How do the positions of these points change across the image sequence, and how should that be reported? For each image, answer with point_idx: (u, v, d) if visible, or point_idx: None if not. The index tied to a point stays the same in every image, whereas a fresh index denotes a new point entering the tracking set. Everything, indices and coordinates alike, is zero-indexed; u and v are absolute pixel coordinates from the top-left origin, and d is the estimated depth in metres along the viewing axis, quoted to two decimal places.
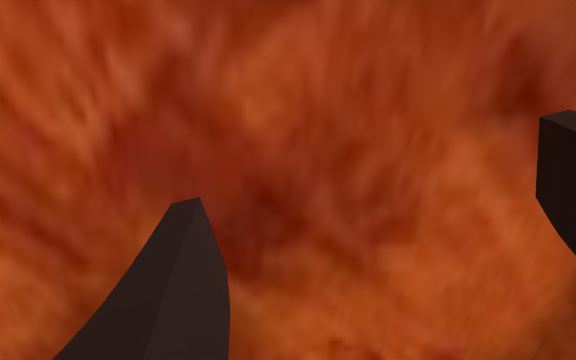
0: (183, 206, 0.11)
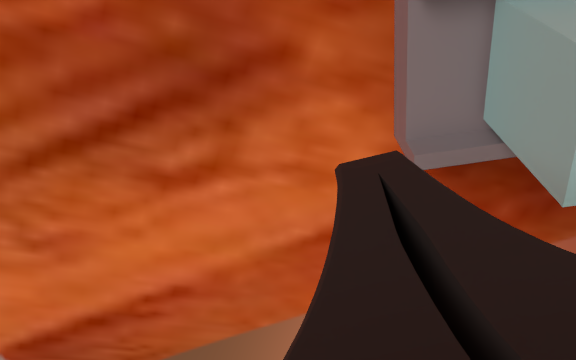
0: (357, 165, 0.10)
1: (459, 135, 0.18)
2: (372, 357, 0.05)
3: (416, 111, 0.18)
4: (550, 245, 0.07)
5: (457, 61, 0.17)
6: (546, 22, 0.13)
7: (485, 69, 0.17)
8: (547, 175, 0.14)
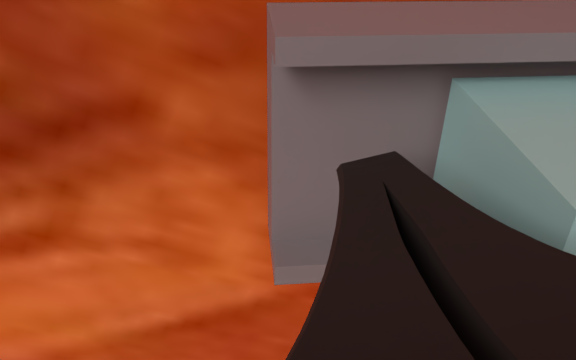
0: (359, 165, 0.10)
1: None
2: (375, 356, 0.05)
3: (285, 208, 0.14)
4: (548, 246, 0.07)
5: (338, 153, 0.13)
6: (512, 134, 0.10)
7: None
8: None
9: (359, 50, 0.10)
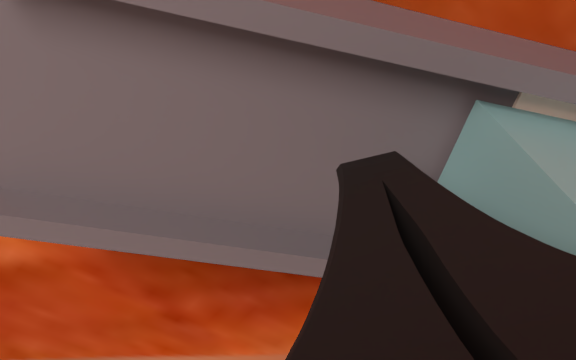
0: (358, 165, 0.10)
1: (72, 201, 0.13)
2: (375, 356, 0.05)
3: (7, 150, 0.12)
4: (547, 245, 0.07)
5: (69, 98, 0.12)
6: (538, 160, 0.10)
7: (112, 123, 0.12)
8: None
9: None
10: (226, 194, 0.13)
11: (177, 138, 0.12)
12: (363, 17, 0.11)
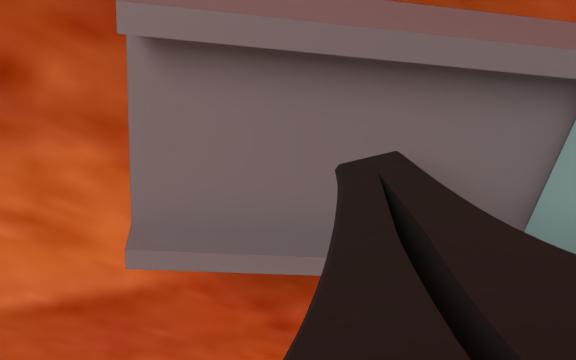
0: (357, 165, 0.10)
1: (204, 230, 0.14)
2: (372, 357, 0.05)
3: (145, 190, 0.13)
4: (550, 245, 0.07)
5: (200, 137, 0.12)
6: None
7: (239, 155, 0.13)
8: None
9: (208, 26, 0.10)
10: None
11: (298, 162, 0.13)
12: (476, 31, 0.11)
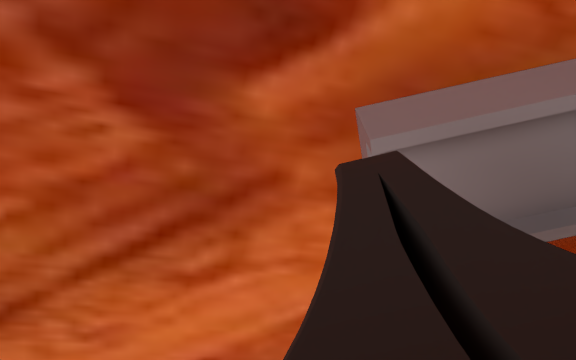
0: (357, 165, 0.10)
1: None
2: (372, 357, 0.05)
3: None
4: (550, 245, 0.07)
5: None
6: None
7: None
8: None
9: (418, 136, 0.18)
10: (510, 205, 0.21)
11: (475, 186, 0.21)
12: (571, 85, 0.18)
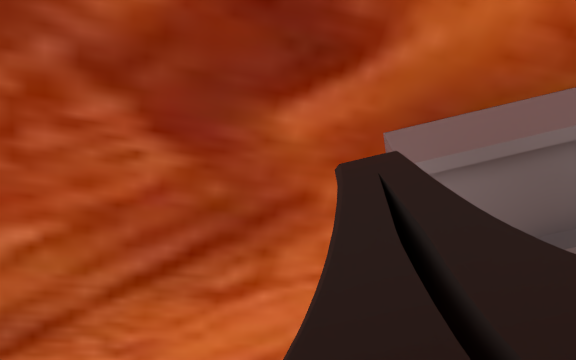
0: (357, 165, 0.10)
1: None
2: (372, 357, 0.05)
3: None
4: (550, 245, 0.07)
5: None
6: None
7: None
8: None
9: (447, 162, 0.19)
10: (533, 223, 0.22)
11: (500, 206, 0.21)
12: None
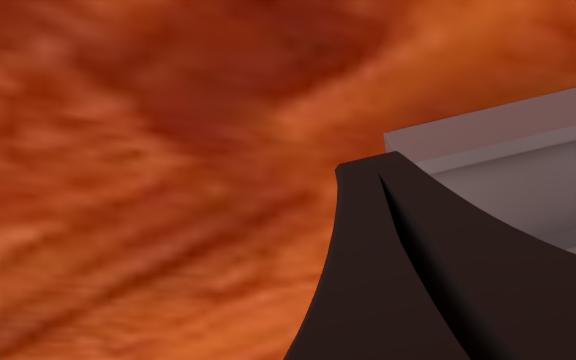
0: (357, 165, 0.10)
1: None
2: (372, 357, 0.05)
3: None
4: (550, 245, 0.07)
5: None
6: None
7: None
8: None
9: (447, 162, 0.19)
10: (533, 223, 0.22)
11: (500, 206, 0.21)
12: None
